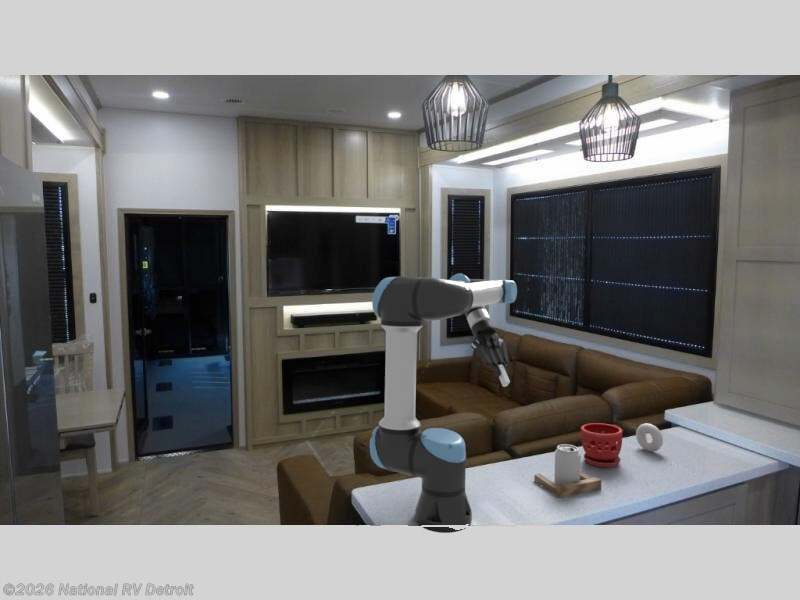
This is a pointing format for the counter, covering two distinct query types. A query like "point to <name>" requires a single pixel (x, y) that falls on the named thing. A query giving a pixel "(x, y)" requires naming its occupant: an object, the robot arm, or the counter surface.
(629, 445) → the counter surface
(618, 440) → the plant pot
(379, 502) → the counter surface
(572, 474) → the can
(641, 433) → the donut
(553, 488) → the walnut frame
